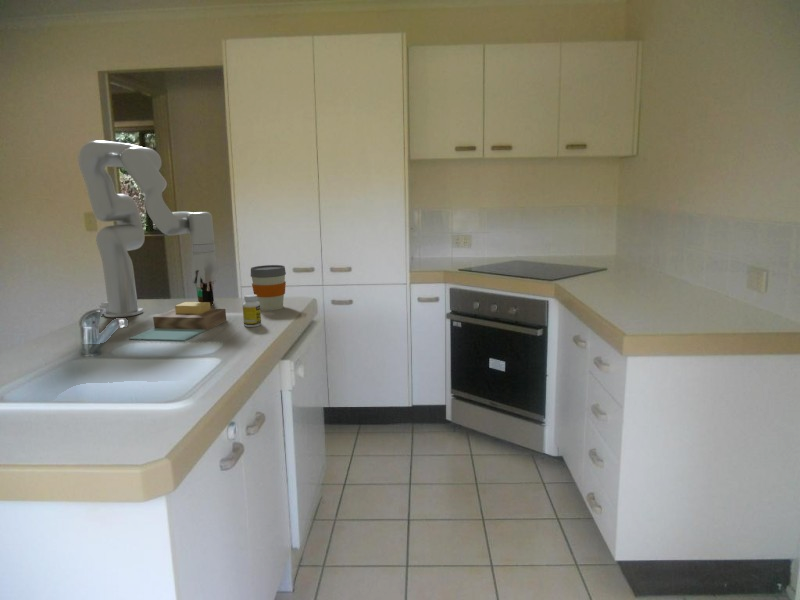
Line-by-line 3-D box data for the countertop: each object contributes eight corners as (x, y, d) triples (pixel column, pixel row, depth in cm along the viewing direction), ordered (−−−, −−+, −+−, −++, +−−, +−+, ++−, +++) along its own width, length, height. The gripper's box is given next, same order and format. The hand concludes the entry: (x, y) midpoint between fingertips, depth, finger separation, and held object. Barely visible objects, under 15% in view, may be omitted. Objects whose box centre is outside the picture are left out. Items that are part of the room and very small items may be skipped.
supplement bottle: (259, 327, 178) (257, 296, 177) (242, 327, 178) (239, 297, 176) (262, 323, 184) (260, 293, 182) (246, 323, 184) (243, 294, 182)
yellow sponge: (175, 313, 183) (174, 305, 182) (185, 309, 189) (185, 301, 188) (201, 313, 181) (200, 306, 181) (210, 309, 187) (209, 302, 187)
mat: (129, 339, 167) (128, 338, 167) (153, 329, 179) (153, 328, 179) (184, 341, 164) (184, 339, 164) (205, 330, 176) (205, 329, 175)
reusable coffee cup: (295, 305, 210) (292, 265, 207) (272, 312, 199) (269, 270, 196) (268, 303, 215) (265, 264, 212) (245, 309, 204) (242, 269, 201)
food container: (194, 301, 223) (192, 276, 221) (210, 299, 225) (208, 275, 223) (196, 307, 211) (194, 280, 209) (213, 305, 214) (211, 279, 212)
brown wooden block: (154, 329, 179) (153, 316, 178) (177, 319, 192) (176, 308, 191) (206, 330, 176) (205, 317, 175) (226, 320, 188) (225, 308, 188)
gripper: (204, 246, 199) (209, 297, 202) (181, 251, 184) (186, 306, 188) (224, 246, 197) (228, 297, 201) (202, 251, 183) (207, 306, 186)
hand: (208, 301), depth 194 cm, fingers closed
